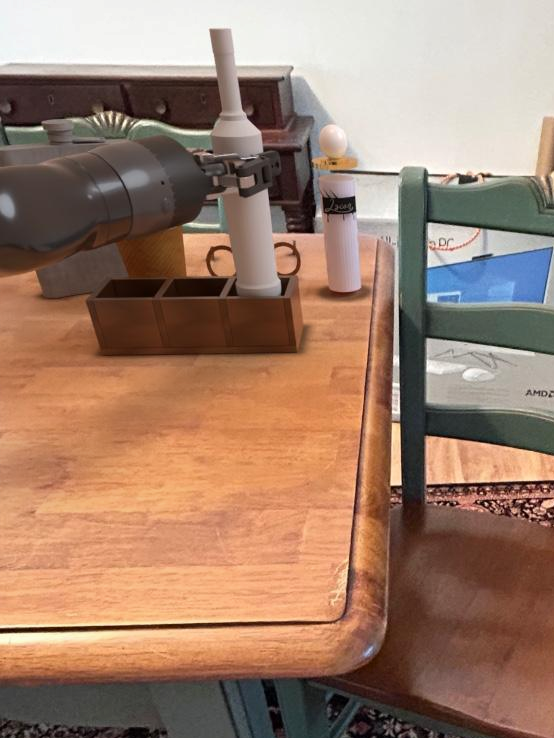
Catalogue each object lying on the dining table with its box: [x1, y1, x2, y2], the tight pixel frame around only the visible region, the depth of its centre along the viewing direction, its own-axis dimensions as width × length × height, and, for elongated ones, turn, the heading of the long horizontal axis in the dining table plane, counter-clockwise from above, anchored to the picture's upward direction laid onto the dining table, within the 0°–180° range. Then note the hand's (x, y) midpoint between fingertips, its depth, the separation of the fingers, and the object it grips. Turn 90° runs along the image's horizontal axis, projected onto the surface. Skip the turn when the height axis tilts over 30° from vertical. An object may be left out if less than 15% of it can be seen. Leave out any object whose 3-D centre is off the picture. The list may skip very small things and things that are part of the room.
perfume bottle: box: [311, 123, 362, 293], centre depth 97 cm, size 6×6×20 cm
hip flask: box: [0, 118, 130, 299], centre depth 97 cm, size 16×4×20 cm, turn 114°
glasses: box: [205, 239, 302, 276], centre depth 109 cm, size 13×13×5 cm
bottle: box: [208, 27, 281, 296], centre depth 78 cm, size 5×5×25 cm
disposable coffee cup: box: [116, 225, 188, 277], centre depth 95 cm, size 10×10×12 cm
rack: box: [85, 274, 305, 356], centre depth 87 cm, size 23×8×6 cm, turn 93°
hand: (255, 159), depth 79 cm, fingers closed on bottle, 5 cm apart
